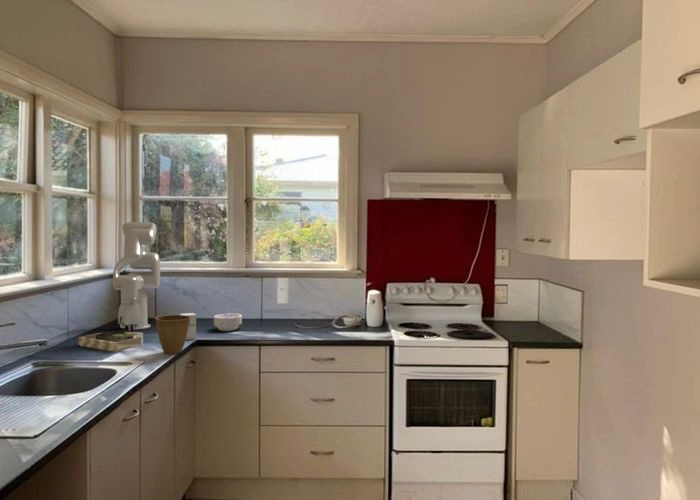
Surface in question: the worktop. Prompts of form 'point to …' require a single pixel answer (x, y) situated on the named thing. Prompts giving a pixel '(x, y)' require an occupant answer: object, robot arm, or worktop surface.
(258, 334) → the worktop surface
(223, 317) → the paper bowls
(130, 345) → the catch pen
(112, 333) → the juice carton
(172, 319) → the plant pot
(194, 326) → the supplement box
